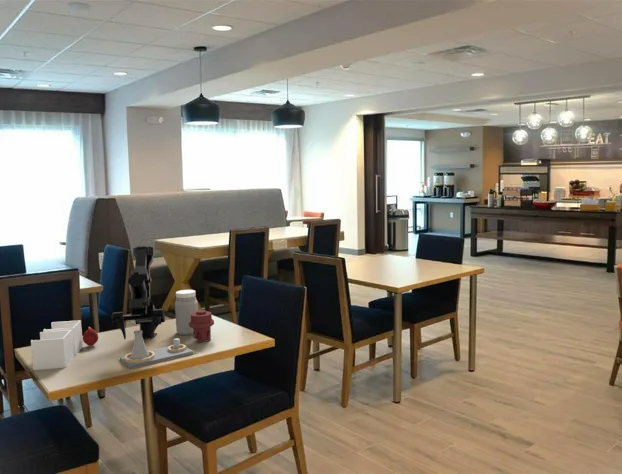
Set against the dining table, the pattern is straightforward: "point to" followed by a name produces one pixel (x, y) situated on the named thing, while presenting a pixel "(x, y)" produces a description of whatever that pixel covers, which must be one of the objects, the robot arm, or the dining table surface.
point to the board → (158, 355)
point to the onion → (90, 337)
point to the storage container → (57, 345)
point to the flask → (139, 347)
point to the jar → (185, 310)
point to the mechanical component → (201, 325)
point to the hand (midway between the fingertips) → (138, 337)
